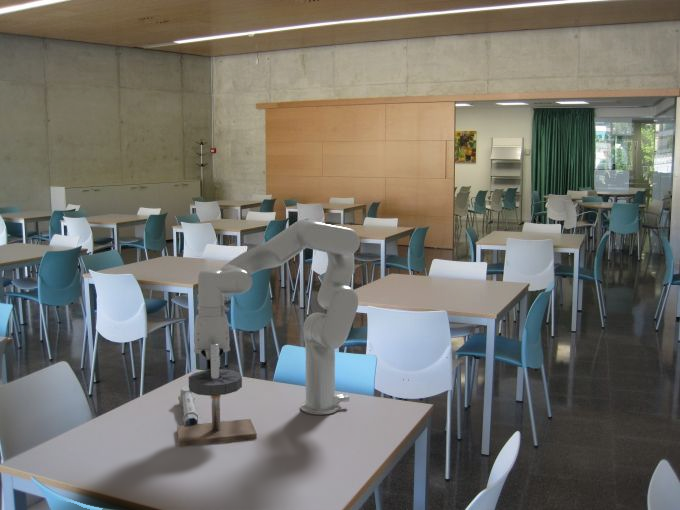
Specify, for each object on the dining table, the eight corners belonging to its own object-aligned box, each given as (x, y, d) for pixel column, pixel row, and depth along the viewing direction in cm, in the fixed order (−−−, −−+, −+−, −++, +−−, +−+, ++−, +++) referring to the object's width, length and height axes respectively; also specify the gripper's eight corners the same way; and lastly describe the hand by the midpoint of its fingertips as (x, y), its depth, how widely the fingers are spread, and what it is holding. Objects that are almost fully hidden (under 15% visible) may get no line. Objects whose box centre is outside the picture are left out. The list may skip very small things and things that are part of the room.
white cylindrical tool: (182, 418, 211) (177, 382, 234) (182, 438, 213) (177, 400, 236) (200, 416, 212) (193, 380, 235) (200, 436, 214) (193, 398, 237)
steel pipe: (220, 427, 210) (218, 342, 206) (221, 431, 207) (220, 344, 203) (210, 428, 209) (208, 343, 205) (211, 432, 206) (209, 345, 202)
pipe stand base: (250, 423, 217) (250, 418, 217) (256, 438, 205) (256, 433, 205) (177, 430, 211) (177, 426, 211) (179, 446, 199) (179, 441, 199)
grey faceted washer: (237, 377, 215) (237, 367, 215) (244, 392, 201) (244, 382, 201) (187, 381, 211) (187, 371, 211) (191, 397, 197) (190, 387, 196)
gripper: (235, 307, 214) (235, 365, 217) (185, 309, 210) (186, 369, 213) (238, 312, 207) (239, 372, 210) (186, 315, 203) (187, 376, 206)
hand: (212, 370), depth 211 cm, fingers closed
